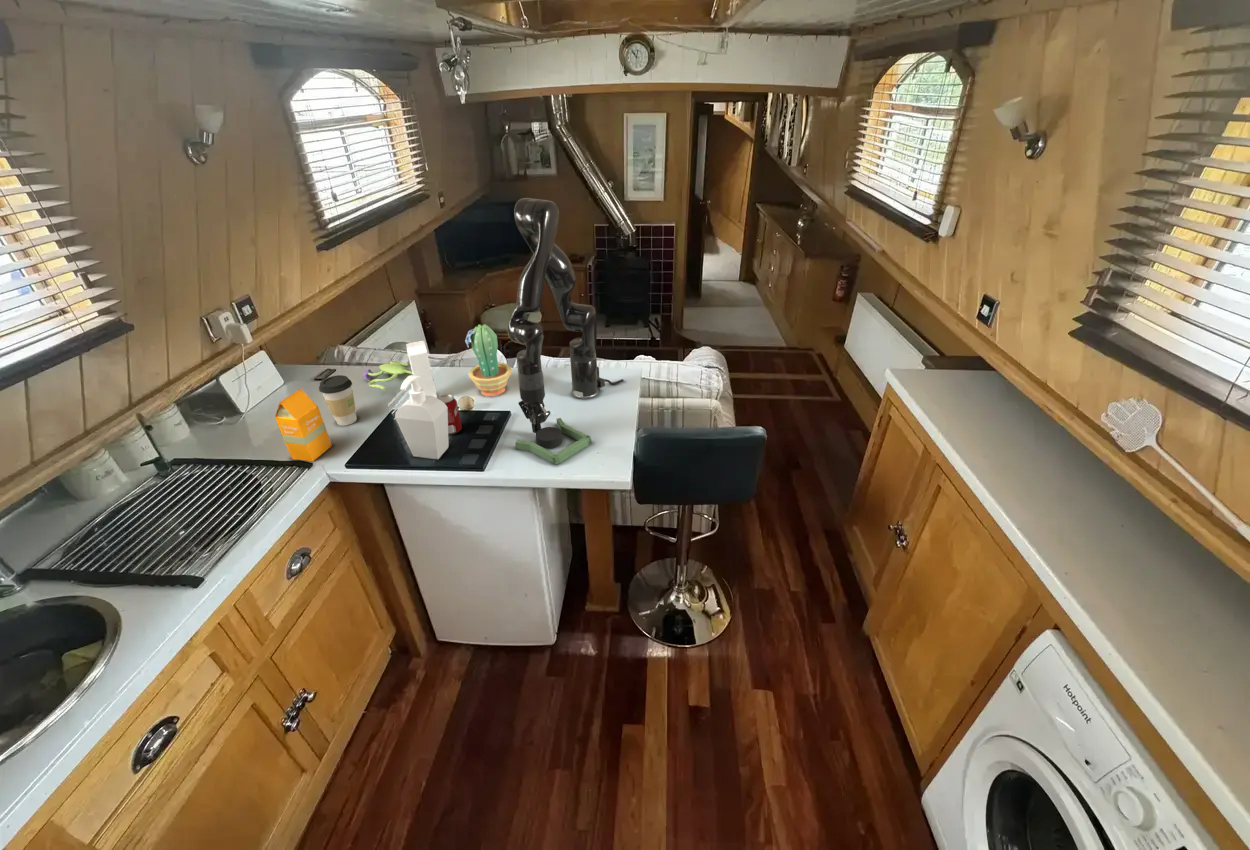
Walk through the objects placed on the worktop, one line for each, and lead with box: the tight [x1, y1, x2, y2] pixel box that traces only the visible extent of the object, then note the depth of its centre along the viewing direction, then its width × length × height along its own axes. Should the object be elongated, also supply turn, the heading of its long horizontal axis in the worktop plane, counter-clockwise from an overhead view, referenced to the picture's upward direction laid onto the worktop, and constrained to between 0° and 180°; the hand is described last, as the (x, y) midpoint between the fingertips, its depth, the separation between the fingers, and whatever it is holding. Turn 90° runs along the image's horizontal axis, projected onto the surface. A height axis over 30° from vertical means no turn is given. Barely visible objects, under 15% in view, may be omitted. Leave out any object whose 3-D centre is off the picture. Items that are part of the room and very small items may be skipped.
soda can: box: [437, 393, 463, 436], centre depth 177 cm, size 7×7×12 cm
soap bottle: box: [394, 374, 449, 460], centre depth 163 cm, size 12×10×26 cm
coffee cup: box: [318, 374, 358, 426], centre depth 183 cm, size 10×10×15 cm
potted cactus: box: [464, 323, 512, 397], centre depth 197 cm, size 15×15×25 cm
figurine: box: [362, 360, 413, 392], centre depth 210 cm, size 18×27×6 cm
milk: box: [405, 340, 438, 398], centre depth 193 cm, size 6×6×22 cm
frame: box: [515, 417, 592, 466], centre depth 172 cm, size 19×16×2 cm
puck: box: [535, 426, 563, 450], centre depth 173 cm, size 8×8×3 cm
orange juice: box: [274, 388, 332, 462], centre depth 166 cm, size 8×9×20 cm
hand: (536, 431), depth 176 cm, fingers closed
